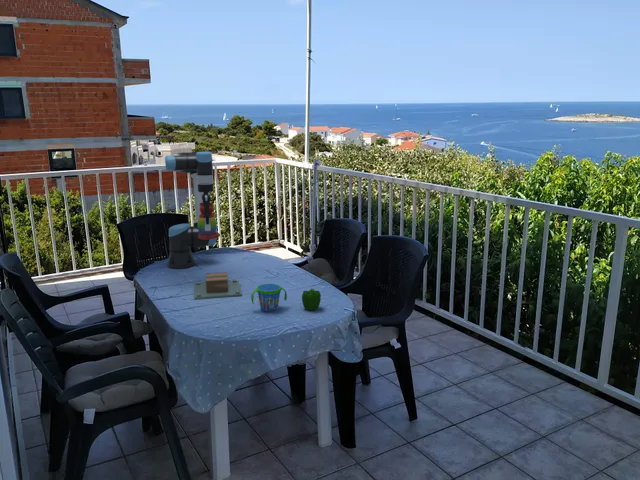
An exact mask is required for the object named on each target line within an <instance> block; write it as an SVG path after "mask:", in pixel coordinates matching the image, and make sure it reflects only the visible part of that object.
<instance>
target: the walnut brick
mask: <svg viewBox="0 0 640 480" xmlns="http://www.w3.org/2000/svg"><path fill="white" fill-rule="evenodd" d="M205 277H206V280H205V283H206V289H207V293H222V292H228V281H229V280H228V272H227V271H226V272H210V273H206V276H205Z"/></svg>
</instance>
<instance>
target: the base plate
mask: <svg viewBox="0 0 640 480" xmlns="http://www.w3.org/2000/svg"><path fill="white" fill-rule="evenodd" d="M193 287H194V290H193V291H194V292H193V293H194V295H193V296H194V297H193V299H194V300H206V299H221V298H234V297H242V296H243V292H242V287H241V284H240V280H238V279H237V278H233V279H232V280H228V292H222V293H207V289H206V282H201V281H196V283H193Z"/></svg>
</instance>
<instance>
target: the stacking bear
mask: <svg viewBox="0 0 640 480" xmlns="http://www.w3.org/2000/svg"><path fill="white" fill-rule="evenodd" d="M209 210H210V227H211V231H205V220H204V218H203V216H204V215H205V213H204V205H203V203H200V212H201V214H200V215H199V218H198V223H197V225H198V231H199V234H198V238H199V239H204V240H207V239H215V238H217V239H218V238H220V237H221V234H220V232H218V231H217V232H216V228H217V229H218V224H217V221H216V216H215V214H214V213H213V212H214V204H213V203H212V202H210V204H209Z"/></svg>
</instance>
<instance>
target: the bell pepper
mask: <svg viewBox="0 0 640 480" xmlns="http://www.w3.org/2000/svg"><path fill="white" fill-rule="evenodd" d="M321 295H322V294H321V293H320V290H315V289H314V288H311V289H310V290H304V291H303V292H302V295H301V301H302V305H303V309H305V310H308V311H314V310H315V311H316V310H318V309H319V307H320V304H321V300H322V299H321V297H322V296H321Z"/></svg>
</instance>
